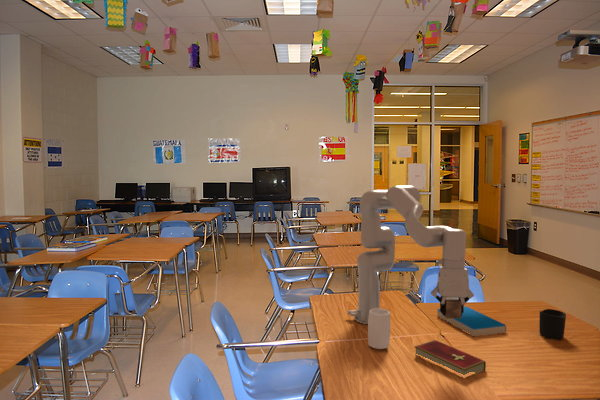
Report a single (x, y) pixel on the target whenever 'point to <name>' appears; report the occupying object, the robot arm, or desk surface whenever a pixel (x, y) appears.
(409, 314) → the desk surface
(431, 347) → the hardcover book
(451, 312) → the walnut block
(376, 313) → the cup
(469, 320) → the book
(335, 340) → the desk surface
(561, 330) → the pen holder
